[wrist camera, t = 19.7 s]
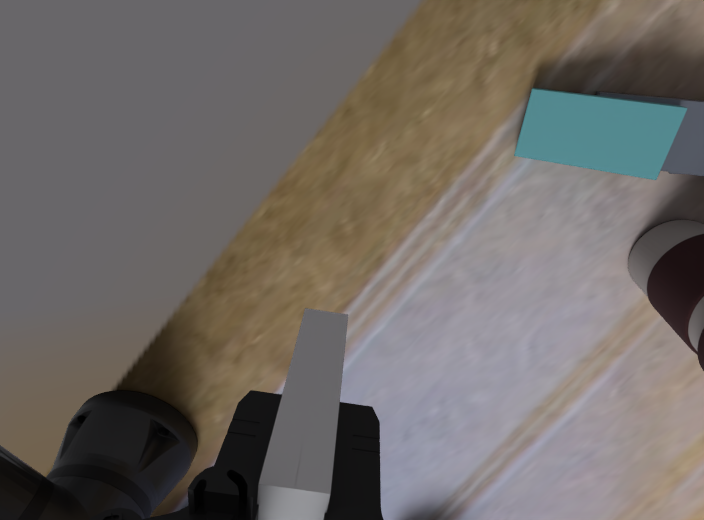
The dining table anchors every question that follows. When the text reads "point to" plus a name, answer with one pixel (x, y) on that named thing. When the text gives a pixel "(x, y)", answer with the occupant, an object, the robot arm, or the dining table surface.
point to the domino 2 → (680, 134)
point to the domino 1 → (599, 132)
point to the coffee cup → (674, 277)
